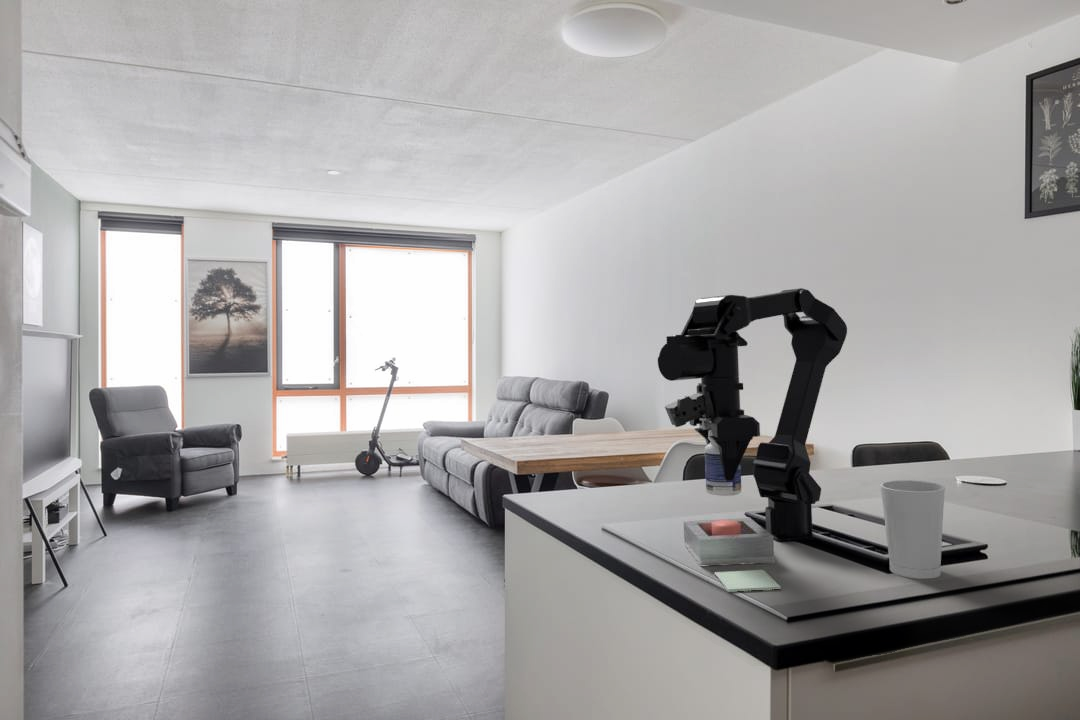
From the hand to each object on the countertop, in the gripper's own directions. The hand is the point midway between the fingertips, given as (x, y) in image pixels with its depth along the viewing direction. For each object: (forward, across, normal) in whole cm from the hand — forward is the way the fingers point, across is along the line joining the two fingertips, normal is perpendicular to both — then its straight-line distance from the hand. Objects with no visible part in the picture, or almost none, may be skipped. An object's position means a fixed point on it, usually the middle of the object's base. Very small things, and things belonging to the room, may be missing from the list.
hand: (723, 476), depth 109 cm
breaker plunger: (+11, 0, 0) cm, 11 cm away
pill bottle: (+3, 0, 0) cm, 3 cm away
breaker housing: (+12, 0, 0) cm, 12 cm away
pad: (+12, +13, -1) cm, 18 cm away
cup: (+12, +12, +23) cm, 29 cm away
